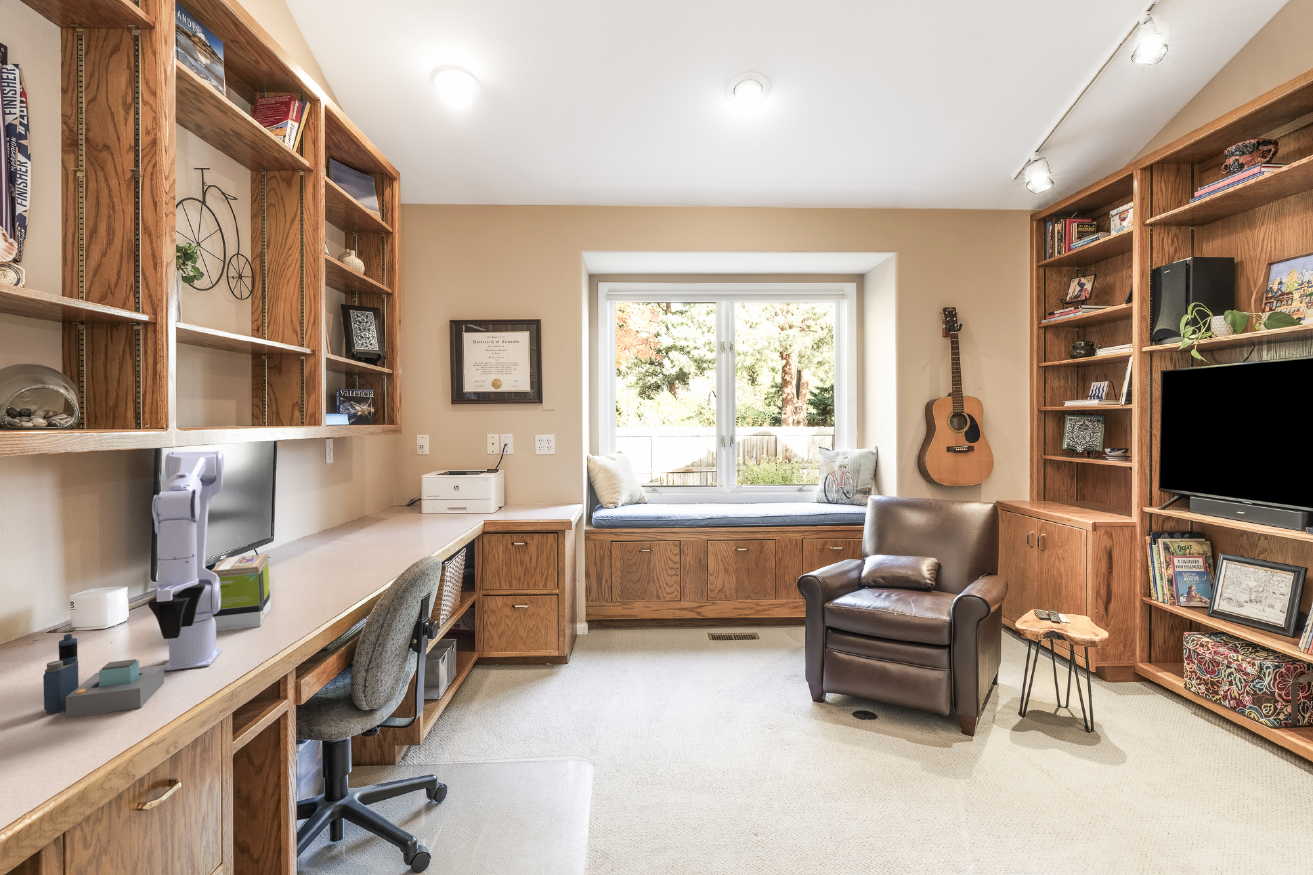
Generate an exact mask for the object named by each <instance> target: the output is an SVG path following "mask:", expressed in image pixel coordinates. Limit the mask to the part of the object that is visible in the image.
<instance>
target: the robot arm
mask: <svg viewBox="0 0 1313 875" xmlns="http://www.w3.org/2000/svg"><path fill="white" fill-rule="evenodd" d="M164 460H165V461H164V471H165V472H164V473H165V477H166V482H165V485H164V488H163V490H162V491H160V492H159V494H155V495H153V499H152V504H151V509H152V510H151V511H152V518H153V523H154V532H155V534H156V536H157V537H156V538H157V539H156V544H157V545H156V547H157V581H154V582H152V583H150V584H149V588H150V589H156V598H151V599H150V600H148V601H147V606H148V608H149V609H150V610H151V612H152V613H153V615H154V616H155V618H156V620H157V623H158V625H159V630H160V633H161V636H162V638H163V639H164V640H168V661H167V662H166V663H165V665H164V672H165V671H173V670H174V671H176V670H183V669H192V668H201V667H208V666H210V665H211V664H212V663H213V662H214V661H215V659H216V658H217V657H218V656H219V655H220V653H222V651H223V649H222V648H221V647H219V648H217V632H216V622H215V619H214V618H213V614H217V612H218V611H219V610H220V606H221V588H220V579H219V577H218V575H217V574H215V573H213V572H211V569H210V570H209V569H208V568H206V559H207V557H206V556H207V545H208V544H207V543H208V542H207V540H208V521H209V510H210V504H211V501H212V499H213V498H212V497H213V496H216V495H217V494H219V493H221V492H222V488H223V485H224V484H223V483H224V472H225V470H224V469H225V465H224V464H225V463H224V462H225V461H224V454H223V452H221V451H220V450H216V451H178V452H177V451H175V452H174V451H169V452H168V453H167V454H166V456H165V458H164Z"/></svg>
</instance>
